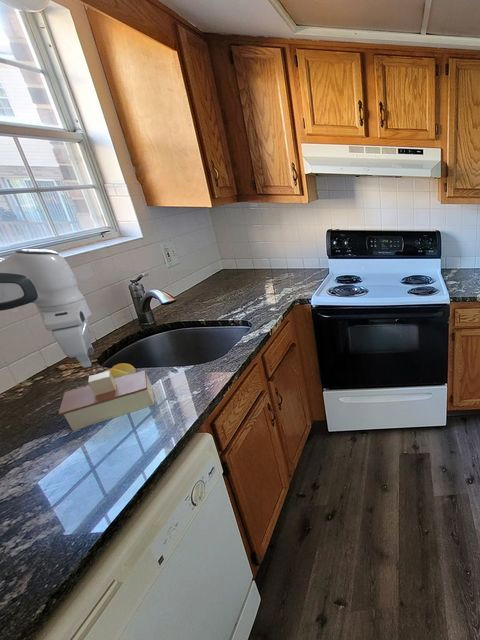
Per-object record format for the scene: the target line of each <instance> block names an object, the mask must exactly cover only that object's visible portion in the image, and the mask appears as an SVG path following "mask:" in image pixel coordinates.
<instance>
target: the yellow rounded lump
mask: <svg viewBox="0 0 480 640" xmlns="http://www.w3.org/2000/svg"><path fill="white" fill-rule="evenodd" d="M135 369H136V368H135V367H134V366H133V365H132V364H130V363H125V362H123V363H122V362H121V363H117V364H115V365H113V366H112V367H111V368H107V369H105V370H103V371H102V372H101V373H103V372H106V371H110V372H111V374H112V376H113V378H114V379H115V378H118V377H122V376H125V375H129V374H133V373H136V372H137V369H136V370H135Z"/></svg>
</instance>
